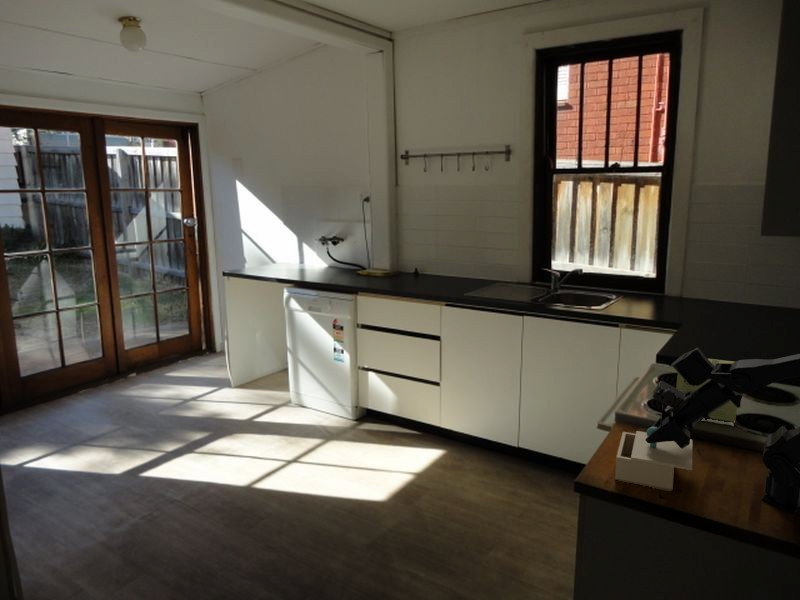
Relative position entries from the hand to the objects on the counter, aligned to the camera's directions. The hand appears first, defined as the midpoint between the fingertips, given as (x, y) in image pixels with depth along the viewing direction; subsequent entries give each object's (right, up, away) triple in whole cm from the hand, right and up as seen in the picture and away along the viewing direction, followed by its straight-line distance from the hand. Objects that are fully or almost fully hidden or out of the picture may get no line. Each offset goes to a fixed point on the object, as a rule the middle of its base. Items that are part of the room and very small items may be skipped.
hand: (647, 438), depth 136 cm
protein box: (+30, -1, +31) cm, 43 cm away
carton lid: (+3, -3, -1) cm, 4 cm away
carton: (0, -8, +2) cm, 9 cm away
